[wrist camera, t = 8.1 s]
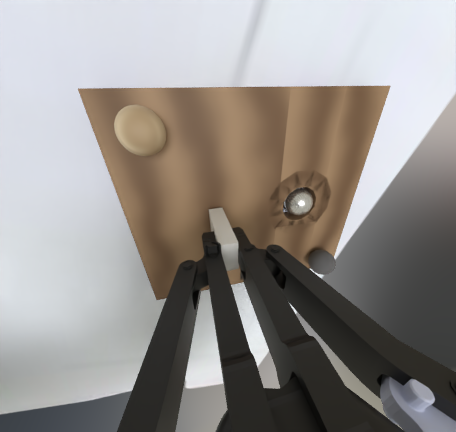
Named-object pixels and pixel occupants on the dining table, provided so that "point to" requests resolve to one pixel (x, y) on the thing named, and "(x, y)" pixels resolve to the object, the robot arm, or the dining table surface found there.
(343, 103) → the walnut plate
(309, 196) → the steel ball
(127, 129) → the beech ball
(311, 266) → the black rubber ball
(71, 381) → the dining table surface
